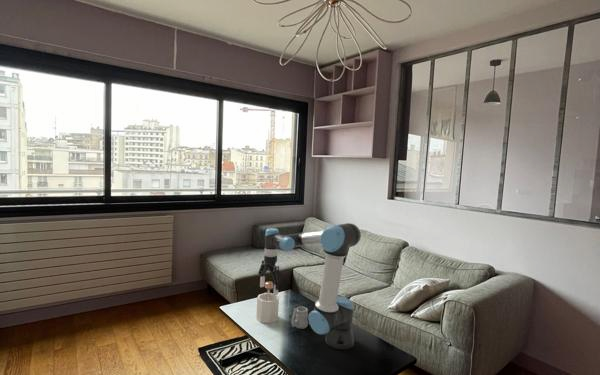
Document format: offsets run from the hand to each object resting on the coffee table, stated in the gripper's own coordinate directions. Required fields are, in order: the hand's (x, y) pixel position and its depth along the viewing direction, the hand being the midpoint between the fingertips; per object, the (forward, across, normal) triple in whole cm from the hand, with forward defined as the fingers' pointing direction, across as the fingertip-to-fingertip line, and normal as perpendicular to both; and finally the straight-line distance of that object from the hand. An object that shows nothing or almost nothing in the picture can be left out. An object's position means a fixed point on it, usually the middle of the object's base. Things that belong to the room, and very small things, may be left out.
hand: (268, 290), depth 196 cm
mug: (+17, -18, -9) cm, 26 cm away
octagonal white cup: (+17, +2, 0) cm, 17 cm away
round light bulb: (+13, 0, 0) cm, 13 cm away
